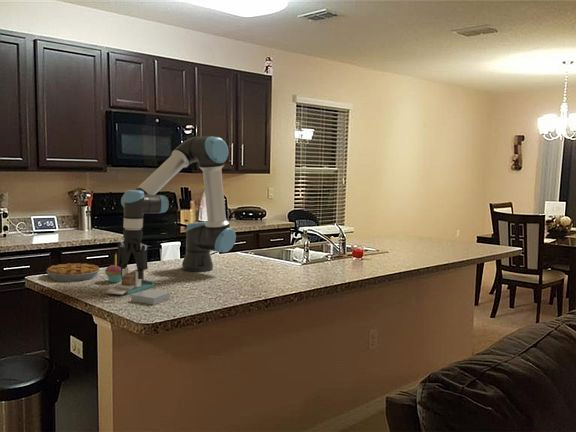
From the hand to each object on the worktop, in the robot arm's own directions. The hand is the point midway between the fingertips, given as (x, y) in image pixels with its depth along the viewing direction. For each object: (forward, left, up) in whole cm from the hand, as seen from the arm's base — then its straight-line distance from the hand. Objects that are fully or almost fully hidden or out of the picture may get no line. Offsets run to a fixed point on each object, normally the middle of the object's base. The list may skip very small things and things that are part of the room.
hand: (131, 285), depth 214 cm
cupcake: (-7, -15, -2) cm, 17 cm away
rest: (0, 0, -2) cm, 2 cm away
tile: (+5, +17, 0) cm, 18 cm away
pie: (-4, -36, -2) cm, 36 cm away
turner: (+2, 0, 0) cm, 2 cm away
